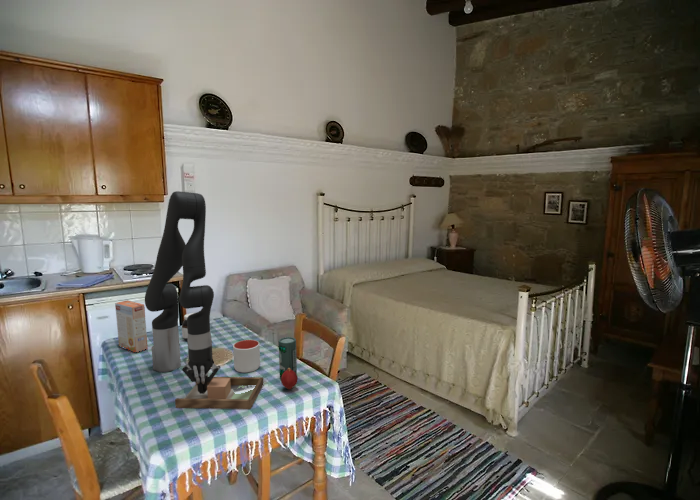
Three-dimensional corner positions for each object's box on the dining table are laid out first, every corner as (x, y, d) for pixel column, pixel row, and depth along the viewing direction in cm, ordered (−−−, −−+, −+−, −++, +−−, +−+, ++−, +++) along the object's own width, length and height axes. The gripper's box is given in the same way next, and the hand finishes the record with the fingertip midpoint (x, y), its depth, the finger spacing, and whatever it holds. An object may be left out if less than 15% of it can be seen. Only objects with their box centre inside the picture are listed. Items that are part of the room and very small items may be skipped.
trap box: (175, 408, 124) (175, 399, 124) (196, 384, 140) (196, 376, 140) (250, 409, 123) (250, 401, 123) (263, 385, 139) (263, 377, 139)
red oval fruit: (282, 385, 139) (281, 364, 138) (298, 384, 139) (297, 363, 138) (280, 393, 133) (279, 371, 132) (297, 392, 134) (296, 371, 133)
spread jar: (191, 334, 190) (190, 311, 189) (213, 335, 189) (211, 312, 187) (177, 343, 179) (175, 319, 177) (200, 344, 177) (198, 320, 175)
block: (207, 399, 129) (207, 386, 128) (213, 390, 135) (213, 378, 134) (225, 399, 129) (225, 386, 129) (230, 390, 135) (230, 378, 135)
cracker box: (148, 349, 172) (145, 304, 169) (135, 353, 167) (131, 307, 164) (131, 342, 180) (128, 299, 177) (118, 347, 175) (114, 302, 172)
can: (282, 374, 147) (280, 337, 145) (297, 374, 147) (296, 337, 145) (278, 382, 141) (277, 343, 139) (295, 382, 141) (294, 343, 139)
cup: (253, 375, 147) (252, 350, 146) (229, 372, 149) (228, 348, 148) (264, 363, 157) (263, 340, 155) (241, 361, 159) (240, 338, 157)
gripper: (175, 348, 126) (178, 398, 128) (214, 349, 125) (217, 398, 127) (185, 339, 133) (189, 386, 136) (223, 340, 132) (225, 387, 135)
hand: (202, 392), depth 131 cm, fingers closed
